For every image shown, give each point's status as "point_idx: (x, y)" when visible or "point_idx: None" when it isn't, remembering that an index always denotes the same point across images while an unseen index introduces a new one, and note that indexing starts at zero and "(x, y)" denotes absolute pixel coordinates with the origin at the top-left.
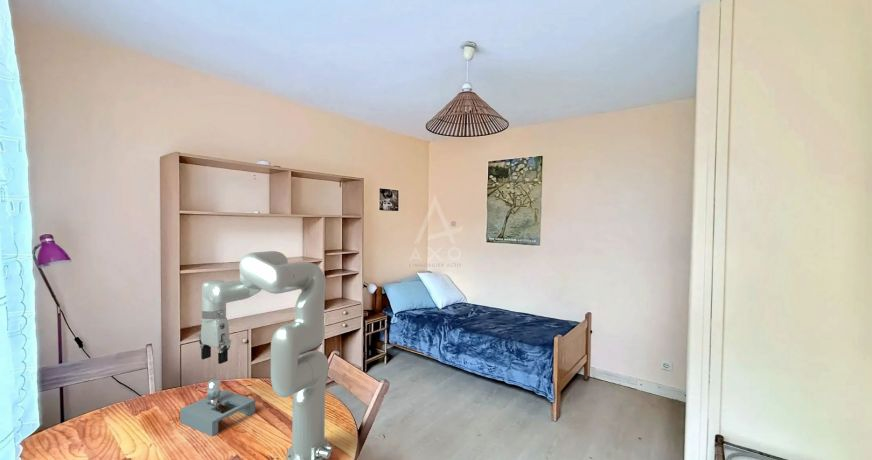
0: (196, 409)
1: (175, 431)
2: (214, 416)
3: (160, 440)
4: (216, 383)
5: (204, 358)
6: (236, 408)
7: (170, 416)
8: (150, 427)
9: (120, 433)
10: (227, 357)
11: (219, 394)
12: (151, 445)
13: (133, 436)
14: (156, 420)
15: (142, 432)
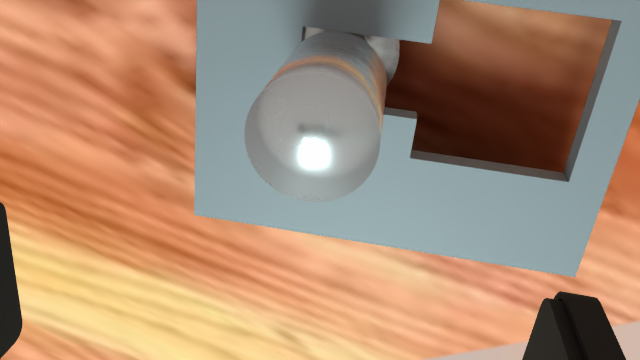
0: None
1: (284, 234)
2: (535, 226)
3: (294, 305)
4: (377, 155)
5: (15, 314)
6: (628, 86)
7: (88, 132)
8: (118, 241)
9: (51, 309)
10: (616, 348)
11: (382, 71)
12: (296, 339)
13: (135, 311)
14: (66, 186)
15: (134, 280)
